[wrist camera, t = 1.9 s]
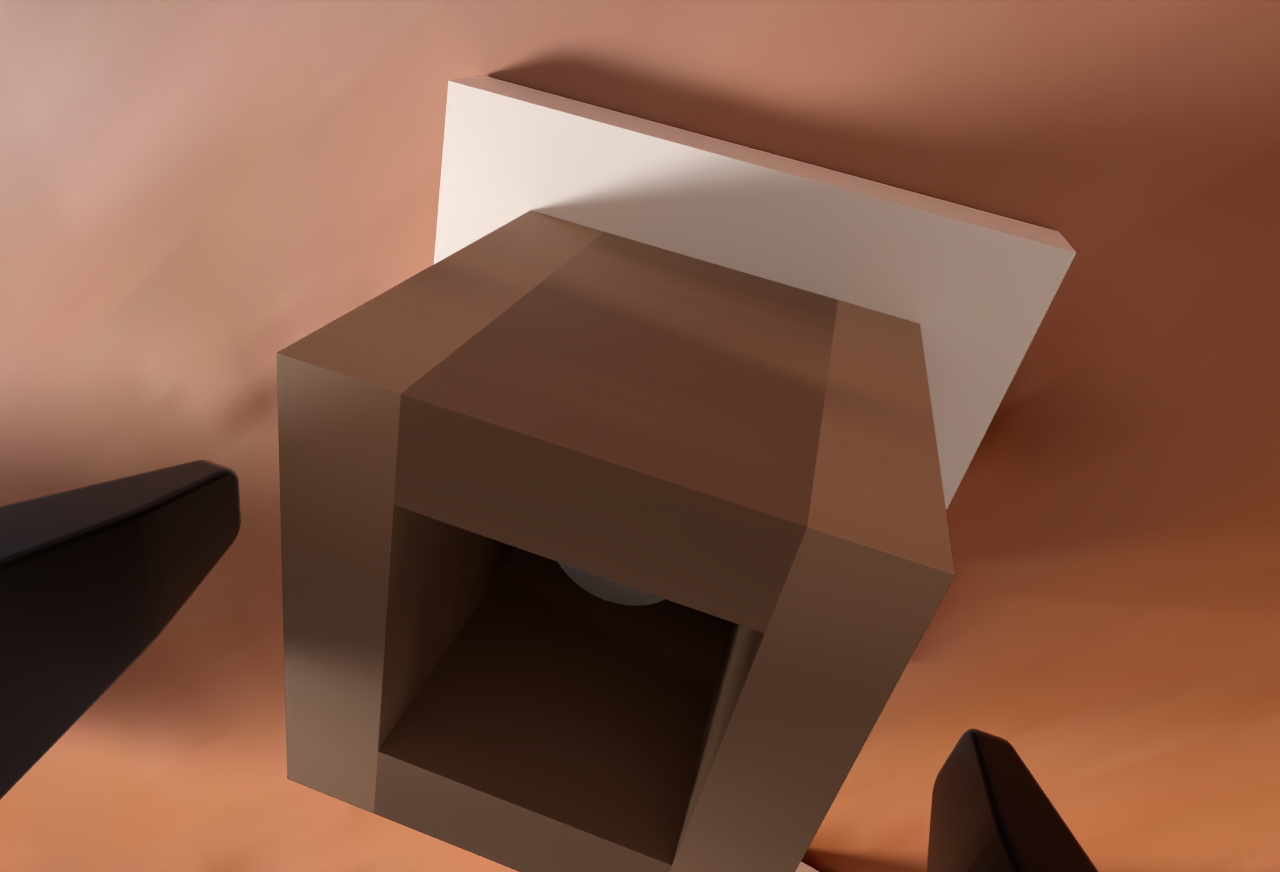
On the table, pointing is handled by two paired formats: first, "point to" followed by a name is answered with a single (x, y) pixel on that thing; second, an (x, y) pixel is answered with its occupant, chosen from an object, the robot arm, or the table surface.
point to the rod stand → (762, 237)
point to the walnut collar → (602, 552)
